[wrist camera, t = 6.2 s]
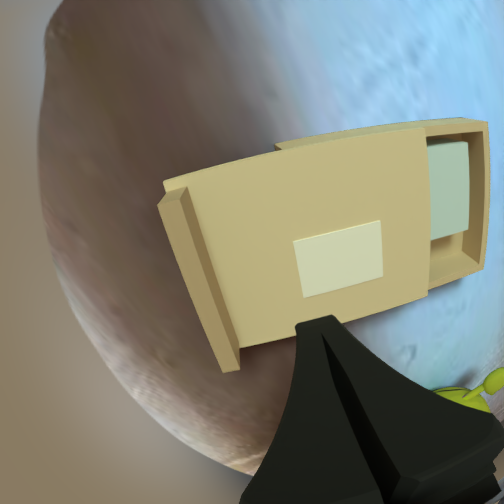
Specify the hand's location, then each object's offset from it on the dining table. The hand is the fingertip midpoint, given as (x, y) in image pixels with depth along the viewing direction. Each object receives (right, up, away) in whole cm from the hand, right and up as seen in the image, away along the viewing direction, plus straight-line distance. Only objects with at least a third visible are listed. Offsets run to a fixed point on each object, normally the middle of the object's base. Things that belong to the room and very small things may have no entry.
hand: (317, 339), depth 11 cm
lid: (+1, +4, +7) cm, 8 cm away
